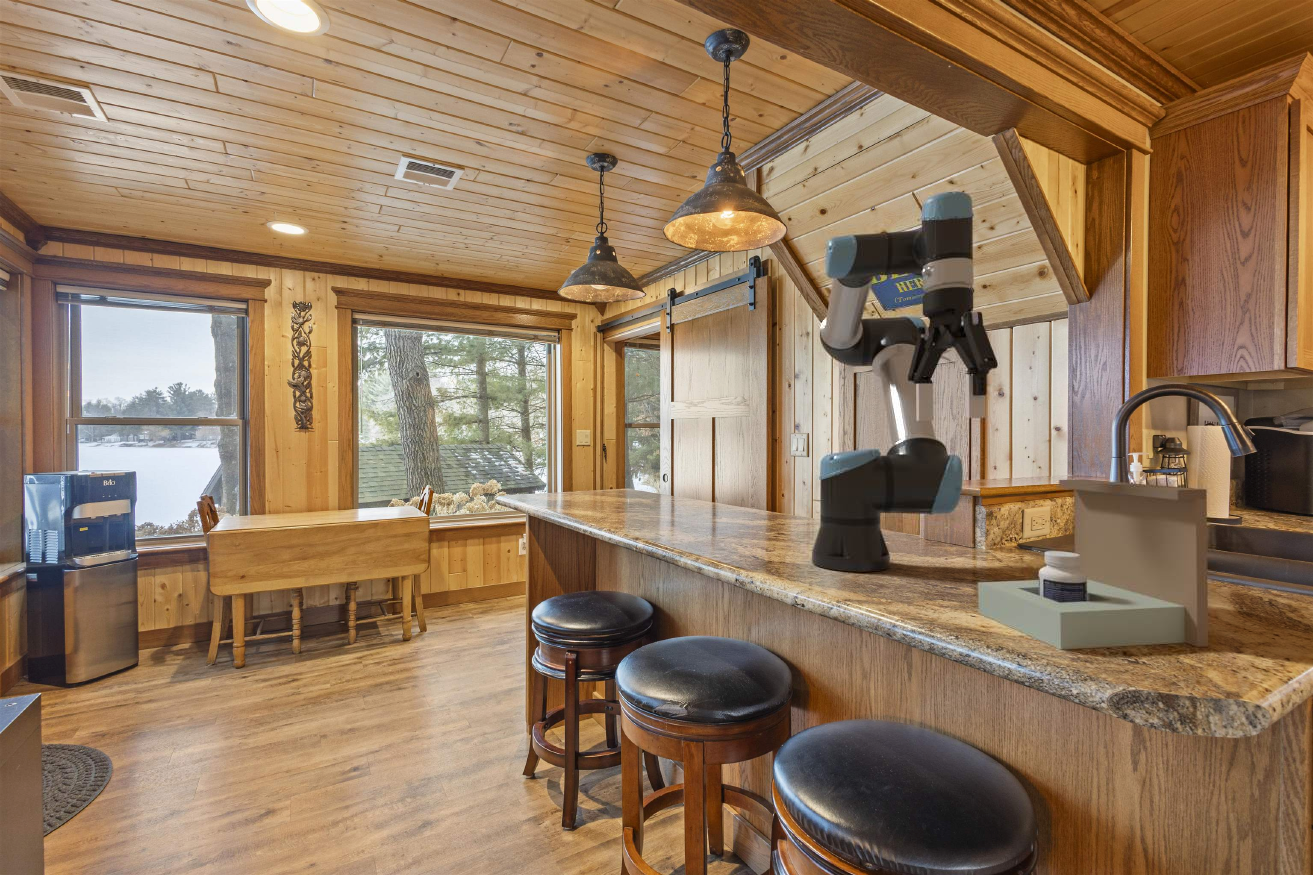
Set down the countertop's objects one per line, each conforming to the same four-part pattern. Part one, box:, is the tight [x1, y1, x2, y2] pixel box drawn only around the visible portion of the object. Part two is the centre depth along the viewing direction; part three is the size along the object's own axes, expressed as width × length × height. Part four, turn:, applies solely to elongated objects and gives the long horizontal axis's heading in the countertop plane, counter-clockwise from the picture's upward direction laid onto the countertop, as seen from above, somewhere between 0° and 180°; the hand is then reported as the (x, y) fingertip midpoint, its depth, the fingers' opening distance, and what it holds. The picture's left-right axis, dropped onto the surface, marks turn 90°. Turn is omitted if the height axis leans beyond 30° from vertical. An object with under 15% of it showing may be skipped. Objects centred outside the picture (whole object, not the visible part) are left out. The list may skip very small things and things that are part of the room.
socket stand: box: [977, 478, 1209, 651], centre depth 80 cm, size 18×18×19 cm
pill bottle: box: [1038, 550, 1087, 603], centre depth 79 cm, size 5×5×10 cm
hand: (948, 419), depth 97 cm, fingers open, 13 cm apart
